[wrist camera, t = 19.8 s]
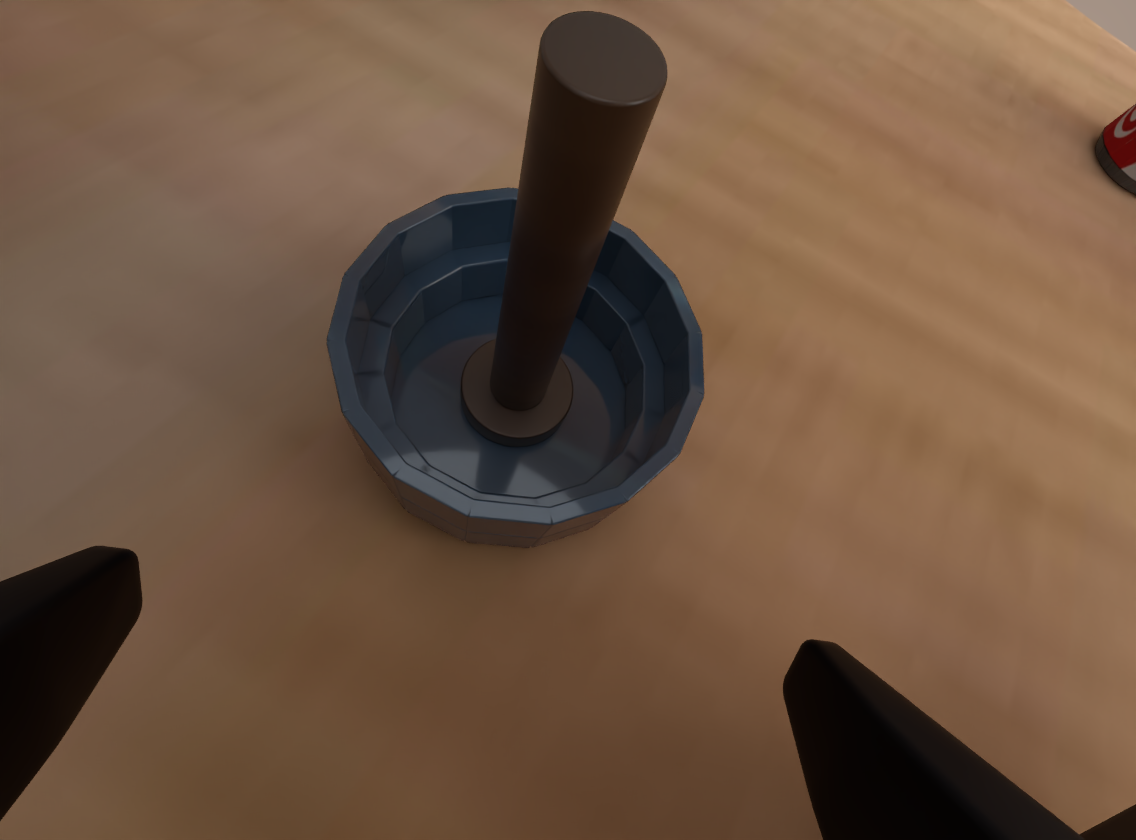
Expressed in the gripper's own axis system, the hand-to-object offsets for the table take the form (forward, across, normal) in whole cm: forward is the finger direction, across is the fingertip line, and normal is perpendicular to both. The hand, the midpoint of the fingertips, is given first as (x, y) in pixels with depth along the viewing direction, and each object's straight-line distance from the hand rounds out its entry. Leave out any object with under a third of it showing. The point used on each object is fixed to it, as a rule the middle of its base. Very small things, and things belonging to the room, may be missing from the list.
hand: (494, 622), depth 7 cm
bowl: (+14, 0, +2) cm, 14 cm away
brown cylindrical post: (+13, 0, +2) cm, 13 cm away
